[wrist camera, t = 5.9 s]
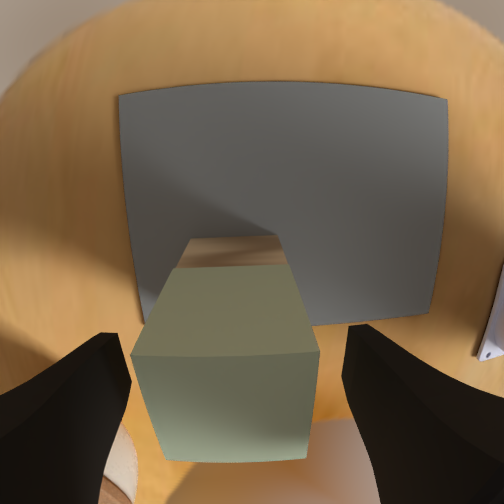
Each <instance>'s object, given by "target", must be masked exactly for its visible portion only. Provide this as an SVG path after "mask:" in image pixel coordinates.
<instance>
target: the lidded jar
mask: <svg viewBox="0 0 504 504" xmlns="http://www.w3.org/2000/svg"><path fill="white" fill-rule="evenodd" d="M137 483H138V459H137V454H136V450H135V446H134V443H133V441H132V438H131V436H130V434H129V432H128V430H127V429H126V427H125V426H124V424H123V423H122V421H121V423H120V426H119V429H118V431H117V434H116V437H115V439H114V442H113V445H112V448H111V450H110V453H109V456H108V459H107V462H106V466H105V469H104V474H103V479H102V484H101V489H100V495H99V502H98V504H134V501H135V497H136V491H137Z"/></svg>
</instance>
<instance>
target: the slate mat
mask: <svg viewBox="0 0 504 504" xmlns="http://www.w3.org/2000/svg"><path fill="white" fill-rule="evenodd" d="M119 123H120V143H121V158H122V171H123V182H124V193H125V202H126V211H127V219H128V227H129V235H130V242H131V249H132V255H133V262H134V268H135V274H136V279H137V285H138V291H139V296H140V301H141V306H142V311H143V316H144V321H145V323H146V321H147V319H148V317H149V315H150V313H151V311H152V309H153V307H154V305H155V303H156V301H157V299H158V297H159V295H160V293H161V291H162V289H163V287H164V285H165V283H166V281H167V279H168V277H169V275H170V273H171V271H172V269H173V268H176V266H177V264H178V262H179V260H180V258H181V256H182V255H183V253H184V251H185V249H186V247H187V245H188V243H189V241H190V239H193V238H216V237H240V236H267V235H278V238H279V241H280V243H281V246H282V249H283V251H284V254H285V257H286V260H287V263H288V264H289V265H290V268H291V271H292V274H293V276H294V279H295V282H296V285H297V287H298V290H299V293H300V296H301V298H302V301H303V304H304V307H305V310H306V312H307V315H308V318H309V321H310V324H311V326H317V325H329V324H340V323H351V322H361V321H371V320H380V319H388V318H397V317H405V316H412V315H420V314H427V313H429V308H430V304H431V299H432V294H433V289H434V284H435V278H436V273H437V267H438V261H439V254H440V248H441V240H442V233H443V224H444V215H445V204H446V191H447V174H448V101H447V99H442V98H437V97H432V96H427V95H422V94H416V93H410V92H404V91H397V90H390V89H383V88H375V87H366V86H357V85H345V84H332V83H315V82H233V83H215V84H202V85H191V86H181V87H172V88H164V89H156V90H149V91H143V92H136V93H130V94H124V95H119Z"/></svg>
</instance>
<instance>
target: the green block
mask: <svg viewBox="0 0 504 504" xmlns="http://www.w3.org/2000/svg"><path fill="white" fill-rule="evenodd" d="M130 356H131V359H132V363H133V366H134V370H135V373H136V376H137V380H138V383H139V386H140V389H141V393H142V396H143V399H144V402H145V405H146V408H147V411H148V413H149V416H150V419H151V422H152V425H153V428H154V430H155V433H156V436H157V438H158V441H159V444H160V446H161V449H162V451H163V454H164V456H165V459H166V460H174V461H190V462H262V461H278V460H291V459H301V458H306V455H307V449H308V442H309V435H310V429H311V422H312V415H313V408H314V400H315V392H316V384H317V375H318V366H319V357H320V349H319V347H318V344H317V341H316V338H315V335H314V332H313V329H312V327H311V324H310V321H309V318H308V315H307V312H306V310H305V307H304V304H303V301H302V298H301V296H300V293H299V290H298V287H297V285H296V282H295V279H294V276H293V274H292V271H291V268H290V265H289V264H280V265H255V266H228V267H200V268H173V269H172V271H171V273H170V275H169V277H168V279H167V281H166V283H165V285H164V287H163V289H162V291H161V293H160V295H159V297H158V299H157V301H156V303H155V305H154V307H153V309H152V311H151V313H150V315H149V317H148V319H147V321H146V323H145V325H144V327H143V329H142V331H141V333H140V335H139V338H138V340H137V342H136V344H135V346H134V348H133V350H132V352H131V355H130Z"/></svg>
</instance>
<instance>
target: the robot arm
mask: <svg viewBox="0 0 504 504" xmlns="http://www.w3.org/2000/svg"><path fill="white" fill-rule="evenodd" d="M500 355H504V265H503V268H502V273H501V277H500V281H499V286H498V290H497V293H496V297H495V301H494V305H493V308H492V312H491V315H490V318H489V322H488V325H487V328H486V331H485V334H484V337H483V340H482V343H481V346H480V348H479V351H478V354H477V359H478V360H479V361H480V362H481V361H485V360H488V359H491V358H494V357H497V356H500ZM341 377H342V381H343V385H344V389H345V393H346V397H347V401H348V404H349V407H350V409H351V412H352V414H353V417H354V419H355V422H356V424H357V427H358V429H359V432H360V434H361V437H362V439H363V442H364V444H365V446H366V450H367V452H368V455H369V458H370V461H371V463H372V467H373V470H374V475H375V479H376V483H377V488H378V492H379V497H380V502H381V504H504V398H502V397H499V396H496V395H493V394H490V393H487V392H484V391H481V390H479V389H476V388H474V387H471V386H469V385H467V384H464V383H462V382H460V381H458V380H456V379H454V378H452V377H450V376H448V375H446V374H444V373H442V372H440V371H438V370H437V369H435V368H433V367H432V366H430V365H428V364H427V363H425V362H423V361H422V360H420V359H418V358H417V357H415V356H414V355H412V354H411V353H409V352H408V351H406V350H405V349H403V348H402V347H400V346H399V345H397V344H396V343H395V342H393V341H392V340H390V339H389V338H387V337H386V336H385V335H383V334H382V333H380V332H379V331H377V330H376V329H374V328H373V327H371V326H369V325H368V324H362V325H353V326H349V328H348V335H347V342H346V349H345V356H344V363H343V369H342V375H341ZM131 383H132V381H131V378H130V374H129V371H128V368H127V365H126V361H125V358H124V355H123V351H122V348H121V344H120V340H119V337H118V333H103V332H101V333H99V334H97V335H95V336H94V337H92V338H91V339H89V340H88V341H86V342H85V343H83V344H82V345H80V346H79V347H78V348H76V349H75V350H73V351H72V352H71V353H69V354H68V355H66V356H65V357H63V358H62V359H61V360H59V361H58V362H56V363H55V364H53V365H52V366H50V367H49V368H47V369H46V370H44V371H43V372H41V373H40V374H38V375H37V376H35V377H33V378H32V379H30V380H29V381H27V382H25V383H23V384H22V385H20V386H18V387H16V388H14V389H12V390H10V391H8V392H6V393H4V394H2V395H0V504H98V502H99V495H100V489H101V484H102V479H103V474H104V469H105V466H106V462H107V459H108V456H109V453H110V450H111V448H112V445H113V442H114V439H115V437H116V434H117V431H118V429H119V426H120V423H121V420H122V418H123V415H124V412H125V409H126V406H127V402H128V398H129V393H130V388H131Z"/></svg>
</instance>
